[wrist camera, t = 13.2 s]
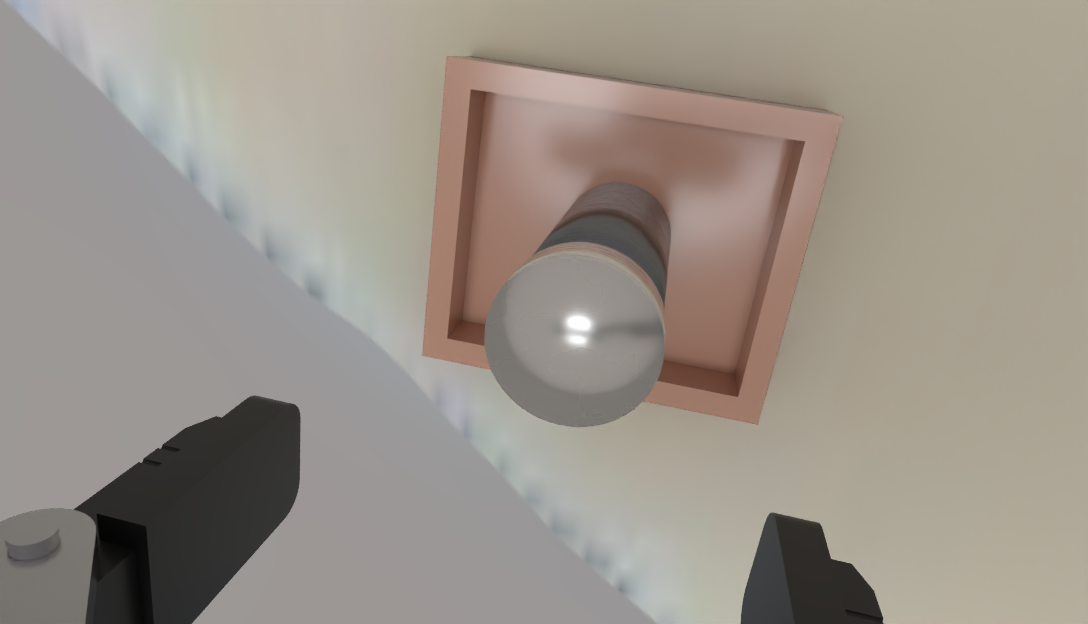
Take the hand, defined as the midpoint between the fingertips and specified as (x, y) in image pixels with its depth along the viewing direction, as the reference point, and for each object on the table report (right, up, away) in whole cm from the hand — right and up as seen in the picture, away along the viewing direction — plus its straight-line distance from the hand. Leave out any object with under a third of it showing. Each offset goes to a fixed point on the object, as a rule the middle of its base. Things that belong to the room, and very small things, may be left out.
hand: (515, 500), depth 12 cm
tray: (+4, +7, +18) cm, 20 cm away
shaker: (+3, +6, +17) cm, 19 cm away
